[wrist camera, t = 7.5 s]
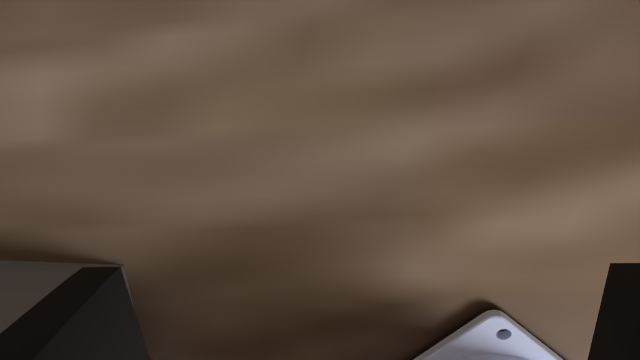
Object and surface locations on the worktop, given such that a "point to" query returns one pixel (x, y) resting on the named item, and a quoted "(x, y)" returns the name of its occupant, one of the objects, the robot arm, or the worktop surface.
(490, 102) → the worktop surface
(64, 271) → the charcoal plinth
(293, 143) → the worktop surface
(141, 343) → the robot arm
